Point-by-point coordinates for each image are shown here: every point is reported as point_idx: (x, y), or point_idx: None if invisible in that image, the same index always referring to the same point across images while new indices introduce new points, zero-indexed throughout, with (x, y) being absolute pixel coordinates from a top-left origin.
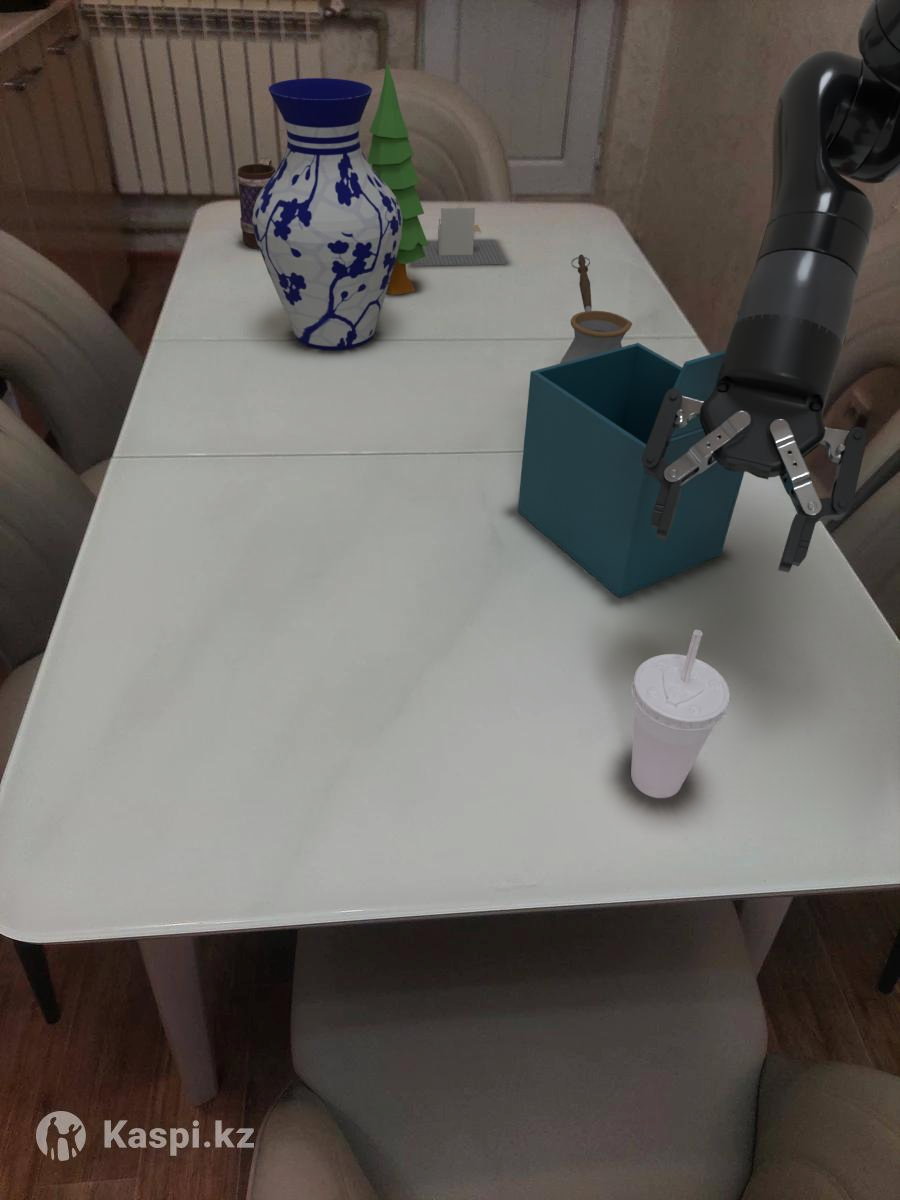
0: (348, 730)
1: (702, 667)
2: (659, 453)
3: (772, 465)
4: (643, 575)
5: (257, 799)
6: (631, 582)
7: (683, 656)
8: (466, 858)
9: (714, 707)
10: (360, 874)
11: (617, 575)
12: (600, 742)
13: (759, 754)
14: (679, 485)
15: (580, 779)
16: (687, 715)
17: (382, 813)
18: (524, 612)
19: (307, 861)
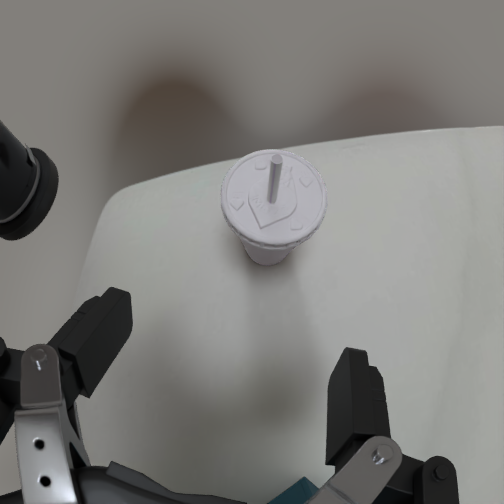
0: (482, 249)
1: (249, 227)
2: (427, 490)
3: (103, 476)
4: (282, 501)
5: (494, 190)
6: (295, 490)
7: (272, 238)
8: (387, 161)
9: (239, 171)
10: (433, 149)
11: (313, 490)
12: (316, 275)
13: (174, 287)
14: (356, 433)
15: (328, 232)
16: (268, 157)
17: (441, 186)
18: (396, 427)
19: (457, 155)
